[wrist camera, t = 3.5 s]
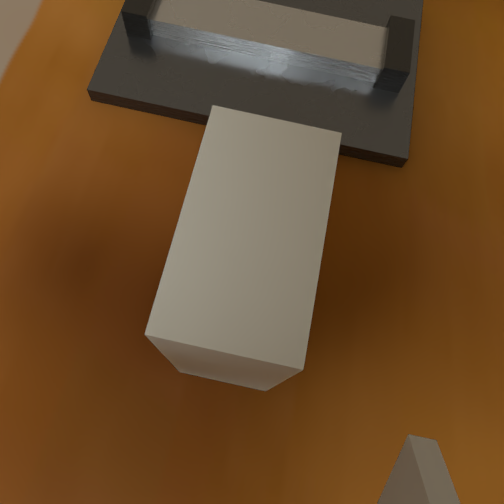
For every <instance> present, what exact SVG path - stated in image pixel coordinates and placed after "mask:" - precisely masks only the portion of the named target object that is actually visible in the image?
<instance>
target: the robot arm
mask: <svg viewBox="0 0 504 504" xmlns="http://www.w3.org/2000/svg"><path fill="white" fill-rule="evenodd" d="M378 504H460V502H459V499H458V496H457V494H456V491H455V488H454V486H453V483H452V480H451V478H450V475H449V472H448V470H447V467H446V464H445V462H444V459H443V456H442V454H441V451H440V448H439V446H438V443H437V440H433V439H428V438H424V437H419V436H414V435H410V434H408V436H407V438H406V441H405V443H404V445H403V447H402V450H401V452H400V454H399V456H398V458H397V461H396V463H395V465H394V467H393V470H392V472H391V474H390V476H389V478H388V481H387V483H386V485H385V487H384V490H383V492H382V494H381V496H380V499H379V501H378Z"/></svg>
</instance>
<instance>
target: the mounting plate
mask: <svg viewBox="0 0 504 504" xmlns="http://www.w3.org/2000/svg"><path fill="white" fill-rule="evenodd" d="M422 7H423V0H125V2H124V5H123V7H122V9H121V12H120V14H119V16H118V19H117V21H116V23H115V26H114V28H113V30H112V33H111V35H110V37H109V39H108V42H107V44H106V46H105V49H104V51H103V53H102V56H101V58H100V60H99V63H98V65H97V67H96V70H95V72H94V74H93V77H92V79H91V81H90V83H89V86H88V88H87V91H88V93H89V96H90V98H91V100H92V101H97V102H101V103H106V104H111V105H115V106H120V107H124V108H129V109H134V110H138V111H143V112H147V113H152V114H157V115H161V116H166V117H171V118H175V119H180V120H184V121H189V122H194V123H198V124H203V125H207V123H208V119H209V116H210V112H211V109H212V106H213V105H215V106H220V107H224V108H229V109H233V110H238V111H243V112H247V113H252V114H257V115H261V116H266V117H271V118H275V119H280V120H284V121H289V122H294V123H298V124H303V125H308V126H312V127H317V128H322V129H326V130H331V131H335V132H340V133H342V135H341V141H340V147H339V154H341V155H346V156H350V157H355V158H360V159H364V160H369V161H374V162H378V163H383V164H387V165H392V166H397V167H401V168H402V167H403V165H404V164H405V163H406V161H407V160H408V155H409V144H410V134H411V123H412V113H413V102H414V91H415V81H416V70H417V60H418V49H419V39H420V28H421V17H422Z"/></svg>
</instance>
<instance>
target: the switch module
mask: <svg viewBox="0 0 504 504" xmlns="http://www.w3.org/2000/svg"><path fill="white" fill-rule="evenodd" d="M341 135H342V133H340V132H335V131H331V130H326V129H322V128H317V127H312V126H308V125H303V124H298V123H294V122H289V121H284V120H280V119H275V118H271V117H266V116H261V115H257V114H252V113H247V112H243V111H238V110H233V109H229V108H224V107H220V106H215V105H213V106H212V109H211V112H210V116H209V119H208V123H207V126H206V129H205V133H204V136H203V139H202V143H201V146H200V149H199V153H198V156H197V159H196V163H195V166H194V170H193V173H192V176H191V180H190V183H189V186H188V190H187V193H186V196H185V200H184V203H183V207H182V210H181V213H180V217H179V220H178V223H177V227H176V230H175V233H174V237H173V240H172V244H171V247H170V250H169V254H168V257H167V260H166V264H165V267H164V270H163V274H162V277H161V280H160V284H159V287H158V291H157V294H156V297H155V301H154V304H153V307H152V311H151V314H150V317H149V321H148V324H147V328H146V331H145V334H144V335H145V336H146V337H147V338H148V339H149V340H150V341H151V342H152V343H153V344H154V345H155V346H156V347H157V349H158V350H159V351H160V352H161V353H162V354H163V355H164V356H165V357H166V358H167V359H168V360H169V361H170V362H171V364H172V365H173V366H174V367H175V368H176V369H177V370H178V371H179V372H181V373H186V374H190V375H195V376H199V377H204V378H208V379H213V380H217V381H221V382H226V383H230V384H235V385H239V386H244V387H248V388H253V389H257V390H262V391H267V390H269V389H271V388H273V387H274V386H276V385H278V384H280V383H281V382H283V381H285V380H287V379H288V378H290V377H292V376H294V375H295V374H297V373H299V372H301V371H302V370H303V369H304V363H305V357H306V351H307V345H308V339H309V332H310V326H311V320H312V314H313V308H314V302H315V295H316V289H317V283H318V277H319V271H320V265H321V258H322V252H323V246H324V240H325V234H326V228H327V221H328V215H329V209H330V203H331V197H332V191H333V184H334V178H335V172H336V166H337V160H338V154H339V147H340V141H341Z"/></svg>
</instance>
